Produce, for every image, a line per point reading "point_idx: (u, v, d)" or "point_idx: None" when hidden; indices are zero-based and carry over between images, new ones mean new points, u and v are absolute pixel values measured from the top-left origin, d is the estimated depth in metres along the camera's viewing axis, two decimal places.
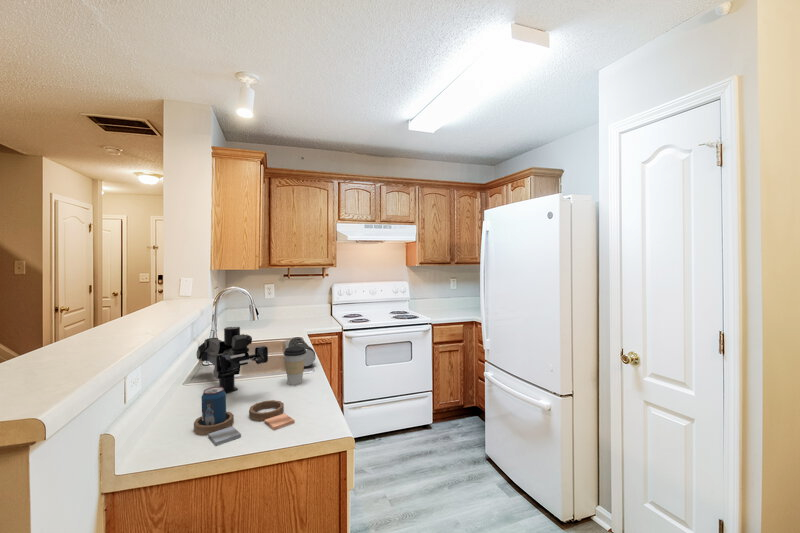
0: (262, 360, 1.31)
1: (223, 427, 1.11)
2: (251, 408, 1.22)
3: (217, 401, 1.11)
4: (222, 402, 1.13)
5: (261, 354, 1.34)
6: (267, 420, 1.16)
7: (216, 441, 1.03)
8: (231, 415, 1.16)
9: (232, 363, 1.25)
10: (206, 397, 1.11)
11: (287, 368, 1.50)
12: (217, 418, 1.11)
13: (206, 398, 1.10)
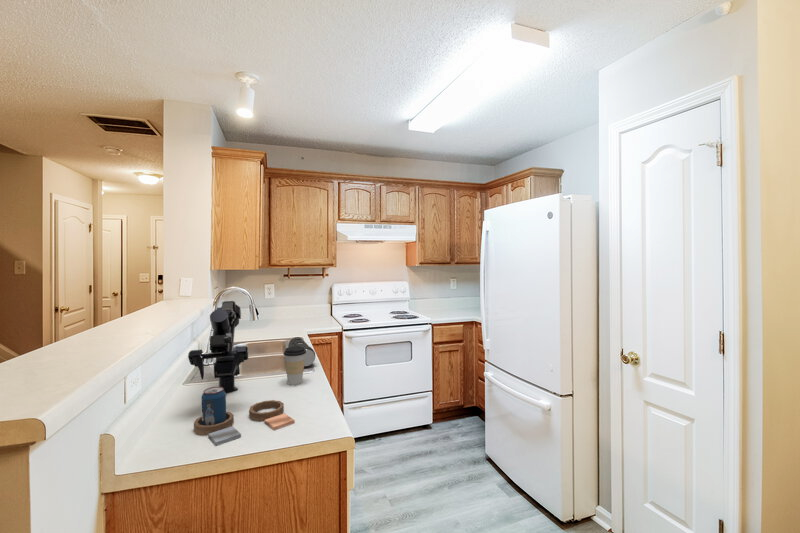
0: (231, 373, 1.23)
1: (223, 427, 1.11)
2: (251, 408, 1.22)
3: (217, 401, 1.11)
4: (222, 402, 1.13)
5: (235, 362, 1.25)
6: (267, 420, 1.16)
7: (216, 441, 1.03)
8: (231, 415, 1.16)
9: None
10: (206, 397, 1.11)
11: (287, 368, 1.50)
12: (217, 418, 1.11)
13: (206, 398, 1.10)
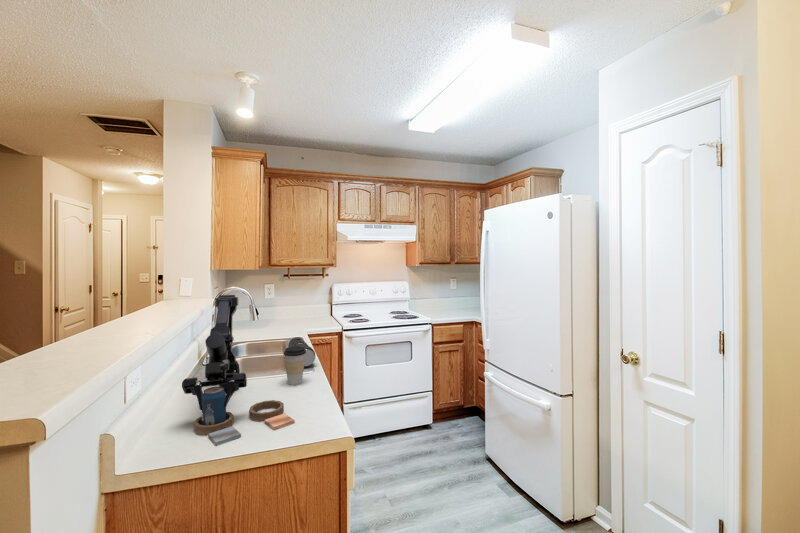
0: (225, 403, 1.14)
1: (223, 427, 1.11)
2: (251, 408, 1.22)
3: (217, 401, 1.11)
4: (222, 402, 1.13)
5: (228, 392, 1.16)
6: (267, 420, 1.16)
7: (216, 441, 1.03)
8: (231, 415, 1.16)
9: (198, 401, 1.12)
10: (206, 397, 1.11)
11: (287, 368, 1.50)
12: (217, 418, 1.11)
13: (206, 398, 1.10)
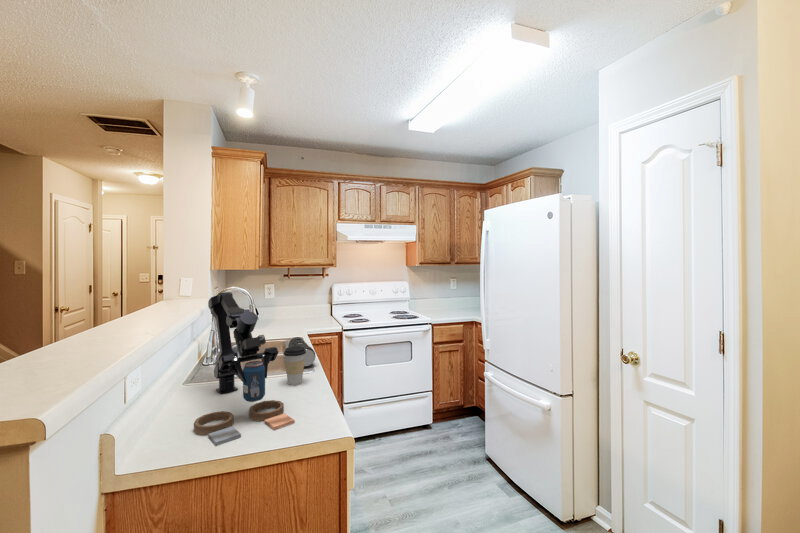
0: None
1: (223, 427, 1.11)
2: (251, 408, 1.22)
3: (261, 373, 1.18)
4: (264, 374, 1.20)
5: (266, 364, 1.23)
6: (267, 420, 1.16)
7: (216, 441, 1.03)
8: (231, 415, 1.16)
9: (240, 375, 1.17)
10: (251, 370, 1.17)
11: (287, 368, 1.50)
12: (261, 389, 1.19)
13: (252, 371, 1.17)
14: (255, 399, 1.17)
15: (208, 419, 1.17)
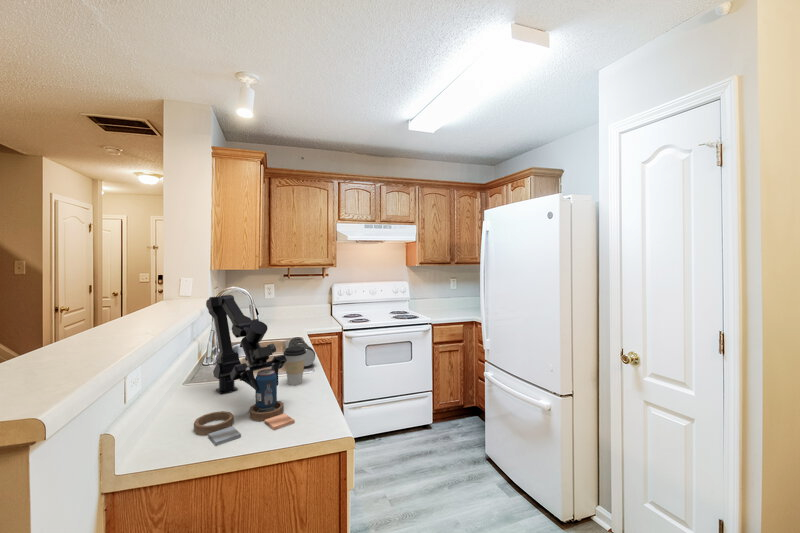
0: None
1: (223, 427, 1.11)
2: (251, 408, 1.22)
3: (274, 381, 1.22)
4: (276, 382, 1.24)
5: (276, 372, 1.27)
6: (267, 420, 1.16)
7: (216, 441, 1.03)
8: (231, 415, 1.16)
9: (253, 383, 1.20)
10: (265, 378, 1.20)
11: (287, 368, 1.50)
12: (274, 396, 1.22)
13: (266, 379, 1.20)
14: (269, 406, 1.21)
15: (208, 419, 1.17)
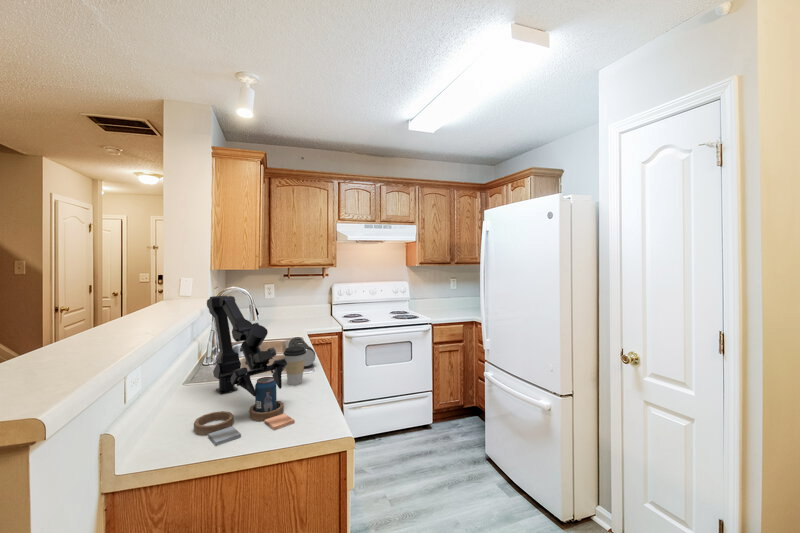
0: (279, 386, 1.26)
1: (223, 427, 1.11)
2: (251, 408, 1.22)
3: (274, 389, 1.22)
4: None
5: (279, 375, 1.27)
6: (267, 420, 1.16)
7: (216, 441, 1.03)
8: (231, 415, 1.16)
9: (250, 388, 1.19)
10: (265, 386, 1.20)
11: (287, 368, 1.50)
12: (274, 403, 1.22)
13: (265, 387, 1.20)
14: None
15: (208, 419, 1.17)
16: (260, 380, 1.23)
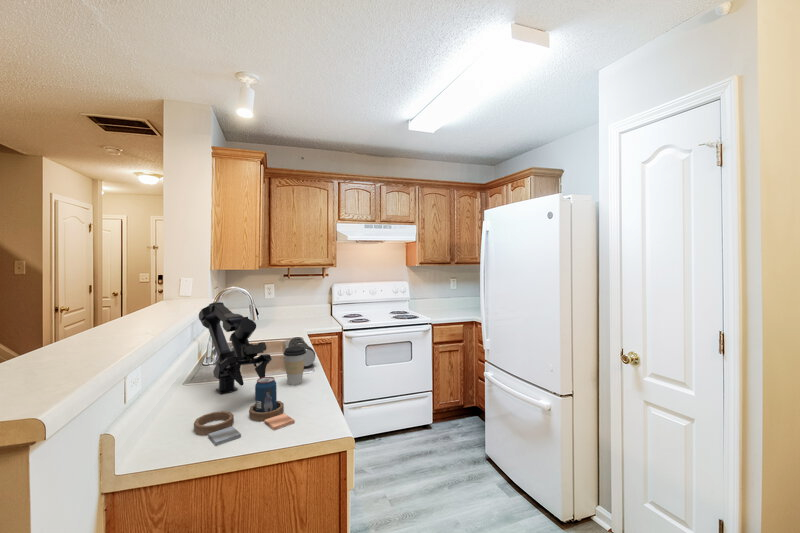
0: None
1: (223, 427, 1.11)
2: (251, 408, 1.22)
3: (274, 388, 1.22)
4: None
5: (264, 369, 1.35)
6: (267, 420, 1.16)
7: (216, 441, 1.03)
8: (231, 415, 1.16)
9: (238, 377, 1.25)
10: (265, 386, 1.20)
11: (287, 368, 1.50)
12: (274, 403, 1.22)
13: (266, 387, 1.20)
14: None
15: (208, 419, 1.17)
16: (260, 380, 1.23)
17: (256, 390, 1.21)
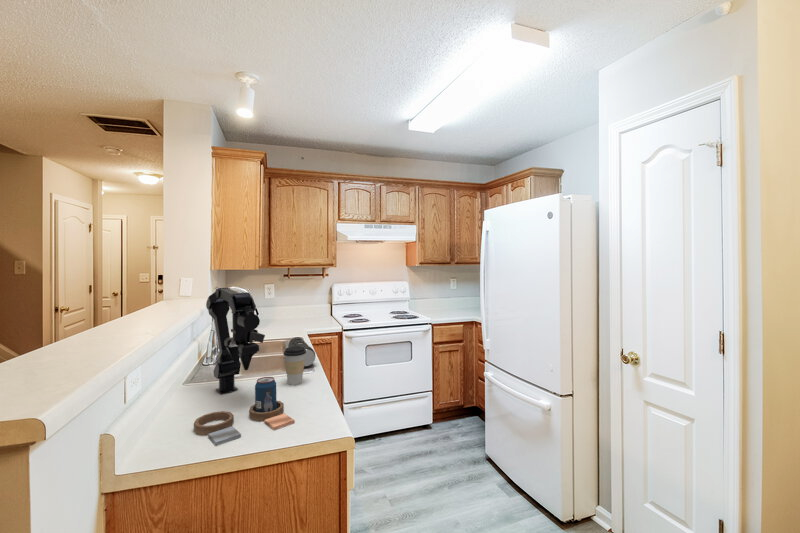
0: (236, 362, 1.37)
1: (223, 427, 1.11)
2: (251, 408, 1.22)
3: (274, 388, 1.22)
4: None
5: None
6: (267, 420, 1.16)
7: (216, 441, 1.03)
8: (231, 415, 1.16)
9: (248, 363, 1.30)
10: (265, 386, 1.20)
11: (287, 368, 1.50)
12: (274, 403, 1.22)
13: (265, 387, 1.20)
14: None
15: (208, 419, 1.17)
16: (260, 380, 1.23)
17: (256, 390, 1.21)
